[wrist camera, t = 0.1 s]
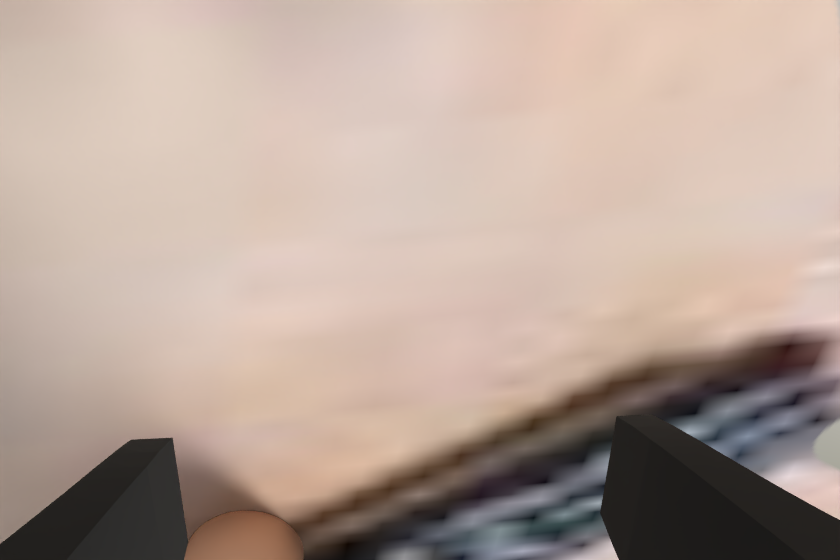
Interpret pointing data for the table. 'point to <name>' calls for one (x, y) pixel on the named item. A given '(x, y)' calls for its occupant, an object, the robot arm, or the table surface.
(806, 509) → the robot arm
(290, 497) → the table surface
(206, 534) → the terracotta capsule
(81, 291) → the table surface
